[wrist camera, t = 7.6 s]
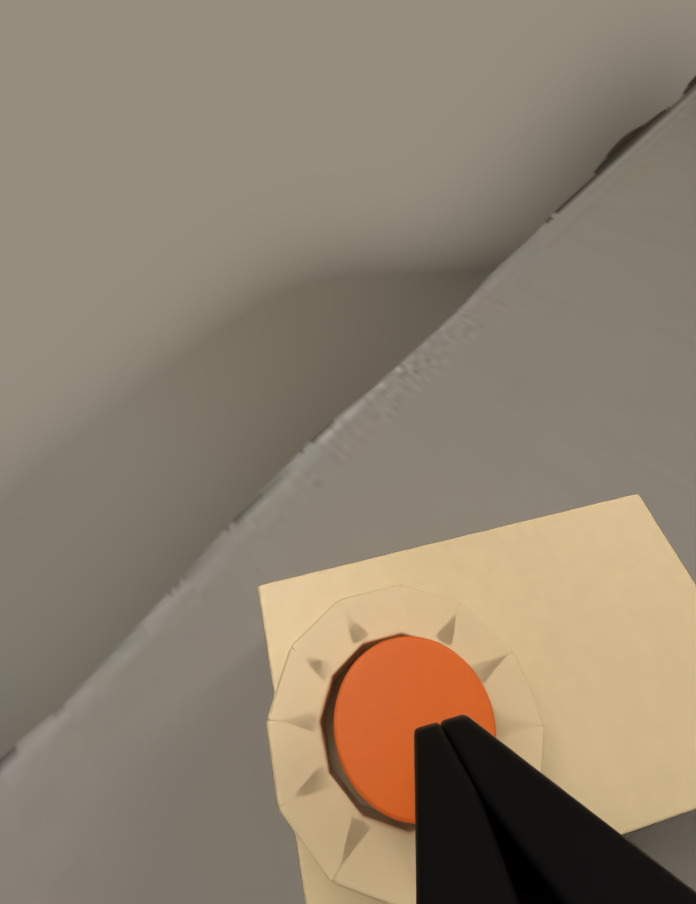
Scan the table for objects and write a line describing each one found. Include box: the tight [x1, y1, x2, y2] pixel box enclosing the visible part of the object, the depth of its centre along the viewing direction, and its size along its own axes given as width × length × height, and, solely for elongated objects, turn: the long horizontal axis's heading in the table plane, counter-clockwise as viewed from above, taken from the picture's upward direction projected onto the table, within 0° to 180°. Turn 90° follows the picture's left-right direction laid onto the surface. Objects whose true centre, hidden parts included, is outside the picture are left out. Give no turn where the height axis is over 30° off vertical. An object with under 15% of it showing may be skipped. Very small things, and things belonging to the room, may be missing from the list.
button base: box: [258, 494, 696, 904], centre depth 15 cm, size 8×13×8 cm, turn 104°
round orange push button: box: [334, 636, 496, 824], centre depth 10 cm, size 3×3×2 cm
